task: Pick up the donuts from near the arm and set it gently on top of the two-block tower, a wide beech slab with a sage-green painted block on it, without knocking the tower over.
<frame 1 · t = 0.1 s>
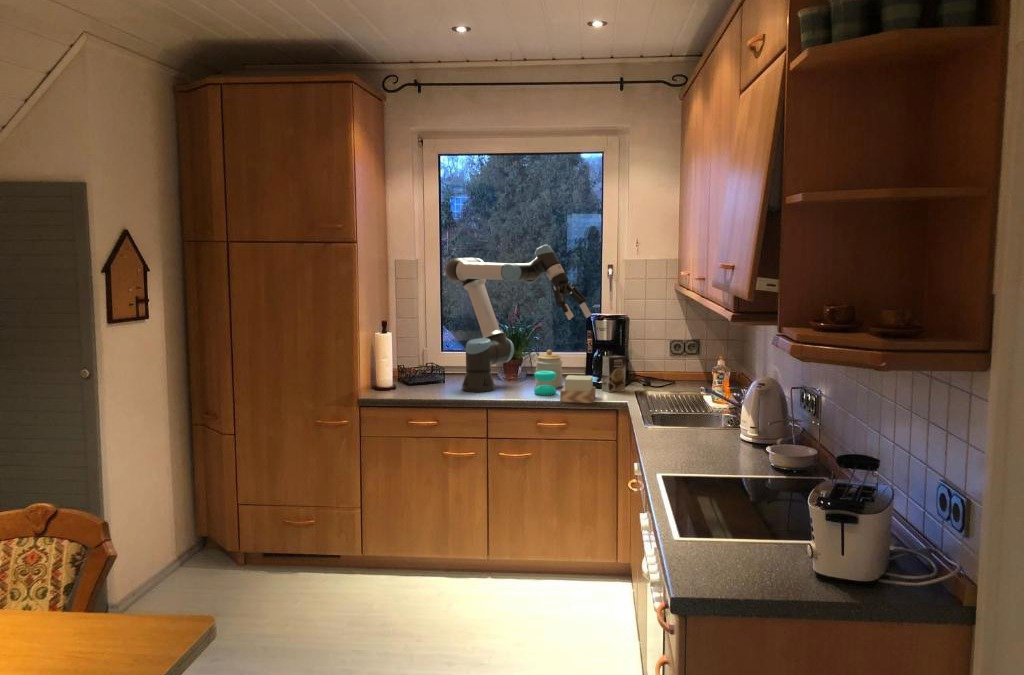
hand: (580, 317, 336), 36 cm above the worktop, tool tilted 35°, fingers open, 13 cm apart
tower top: (578, 388, 336), point 5 cm above the worktop, touching tower base
jar: (548, 386, 369), on the worktop
donuts: (545, 394, 350), on the worktop
tower base: (578, 400, 337), on the worktop, touching tower top
coffee box: (613, 391, 358), on the worktop
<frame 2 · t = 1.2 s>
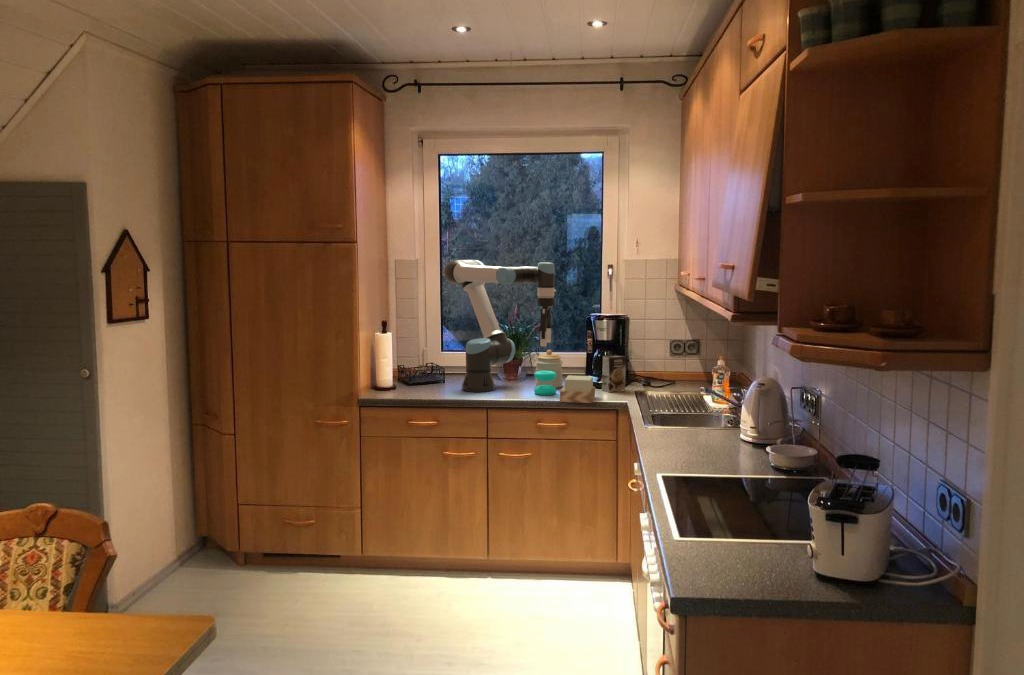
hand: (545, 344, 347), 22 cm above the worktop, tool pointing down, fingers open, 13 cm apart
nothing on the worktop moved.
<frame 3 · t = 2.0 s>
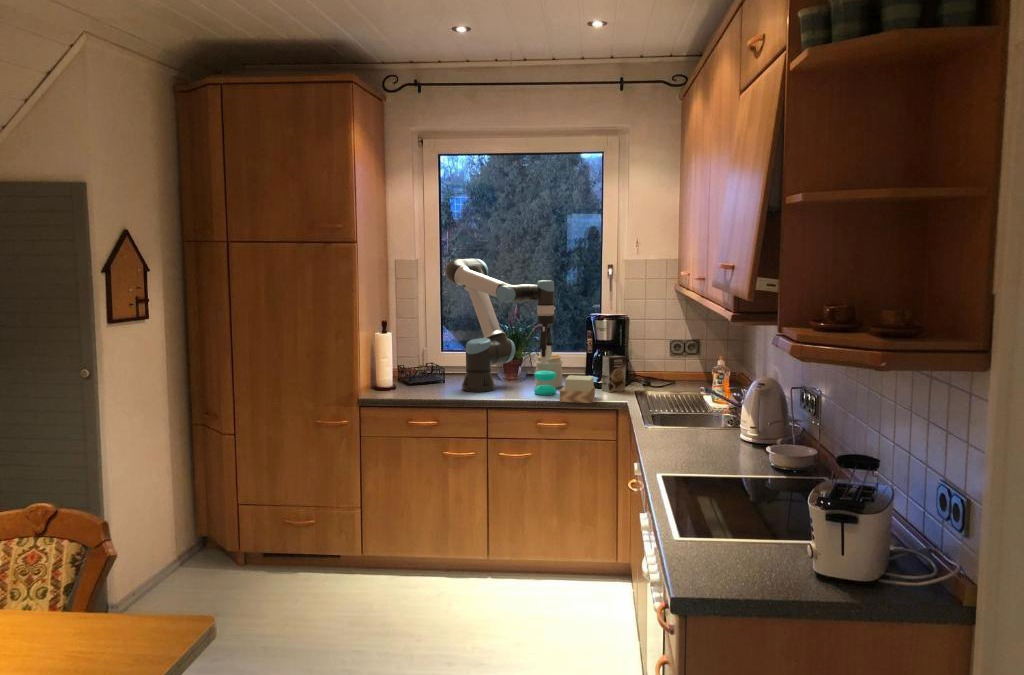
hand: (546, 361, 348), 15 cm above the worktop, tool pointing down, fingers open, 13 cm apart
nothing on the worktop moved.
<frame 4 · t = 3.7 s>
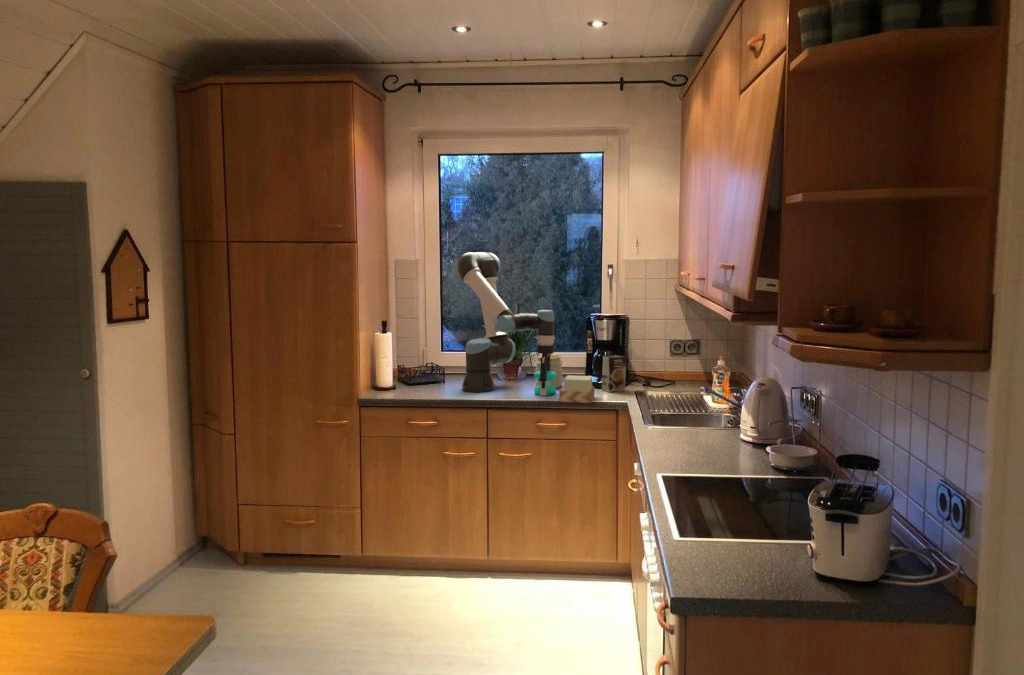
hand: (545, 393, 350), 0 cm above the worktop, tool pointing down, fingers closed on donuts, 10 cm apart
donuts: (545, 394, 350), on the worktop, touching gripper
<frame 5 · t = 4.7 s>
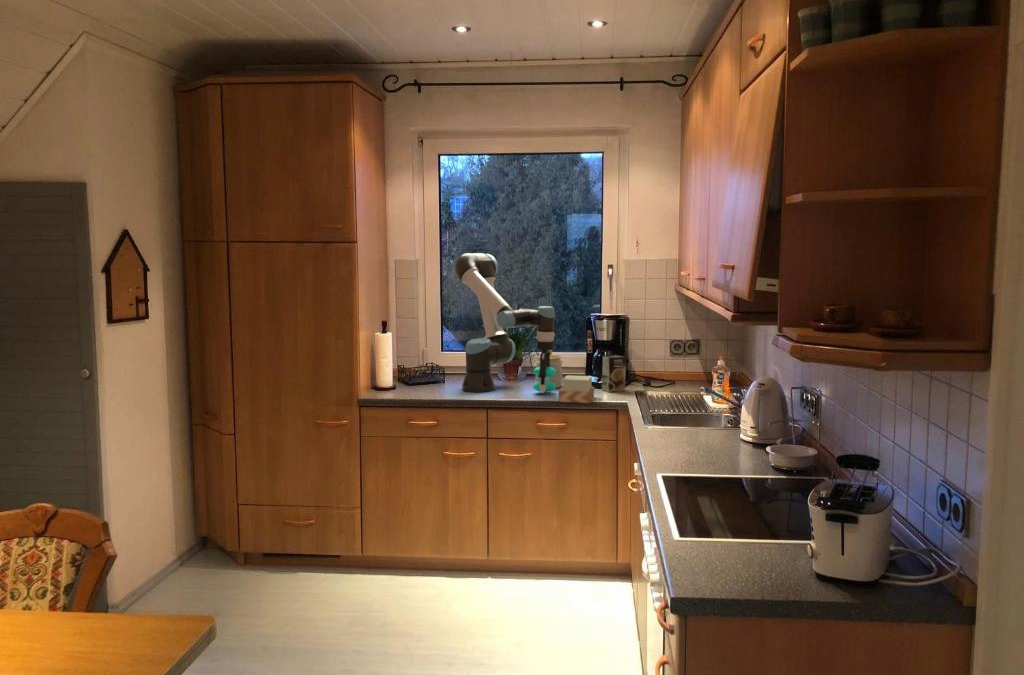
hand: (544, 389, 350), 2 cm above the worktop, tool pointing down, fingers closed on donuts, 10 cm apart
tower top: (577, 389, 337), point 4 cm above the worktop
donuts: (544, 390, 350), point 1 cm above the worktop, touching gripper
tower base: (576, 400, 338), on the worktop
everything else where it was.
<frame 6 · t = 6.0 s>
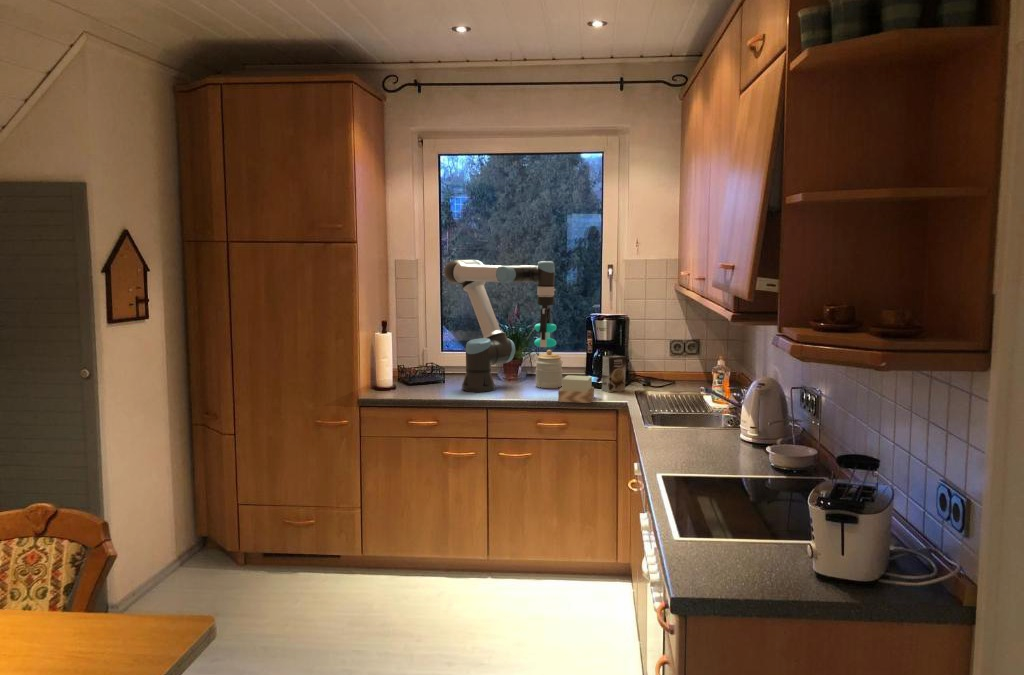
hand: (545, 345, 348), 22 cm above the worktop, tool pointing down, fingers closed on donuts, 10 cm apart
donuts: (545, 346, 348), point 22 cm above the worktop, touching gripper
everything else where it was.
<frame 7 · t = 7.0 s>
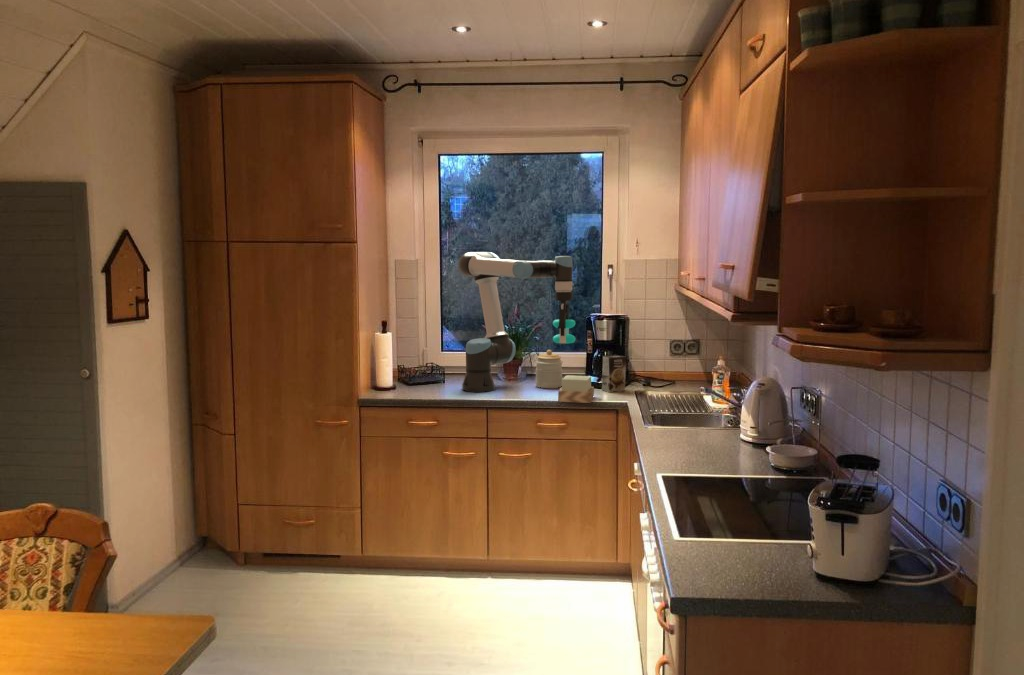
hand: (564, 341, 340), 25 cm above the worktop, tool pointing down, fingers closed on donuts, 10 cm apart
tower top: (576, 389, 337), point 4 cm above the worktop, touching tower base
donuts: (564, 342, 340), point 24 cm above the worktop, touching gripper
tower base: (576, 400, 338), on the worktop, touching tower top
everything else where it was.
when the fingers open (13 cm above the worktop, at t = 9.9 s): donuts drops 3 cm, resting on tower top.
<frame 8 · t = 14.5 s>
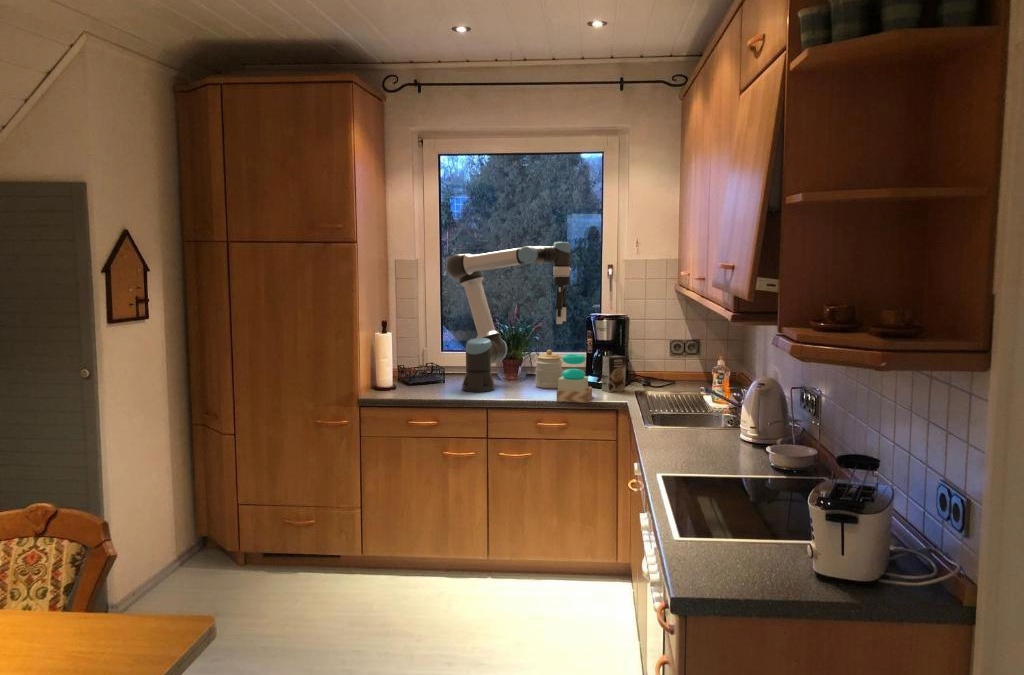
hand: (561, 322, 353), 32 cm above the worktop, tool pointing down, fingers open, 13 cm apart
tower top: (573, 389, 338), point 4 cm above the worktop, touching donuts, tower base
donuts: (573, 378, 337), point 9 cm above the worktop, touching tower top
tower base: (574, 400, 338), on the worktop, touching tower top
everything else where it was.
at the end: donuts 0.4 cm off-centre on the tower top, point 4.8 cm above the tower top's base; tower top 0.8 cm off-centre on the tower base, point 5.0 cm above the tower base's base; donuts tilted 0° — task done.
